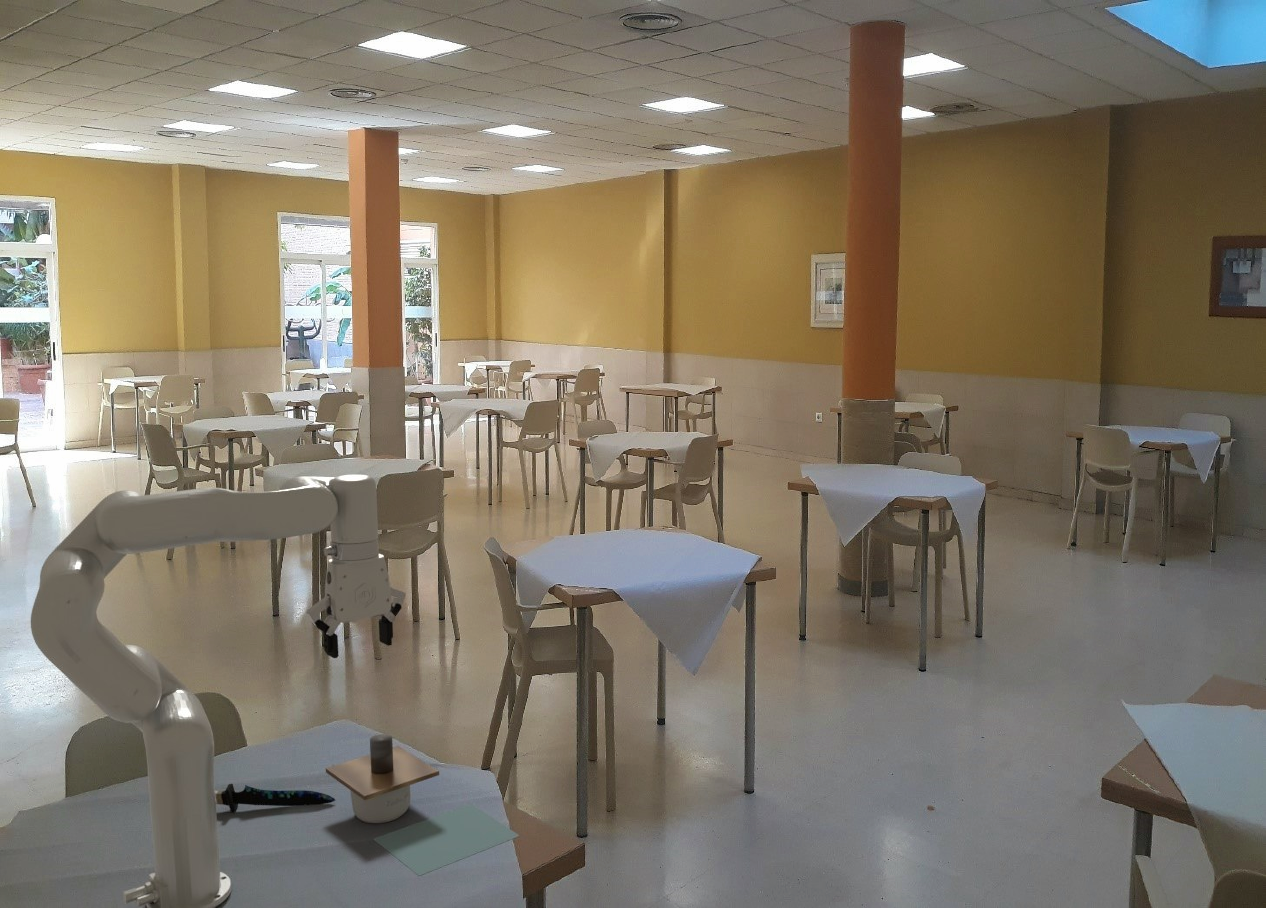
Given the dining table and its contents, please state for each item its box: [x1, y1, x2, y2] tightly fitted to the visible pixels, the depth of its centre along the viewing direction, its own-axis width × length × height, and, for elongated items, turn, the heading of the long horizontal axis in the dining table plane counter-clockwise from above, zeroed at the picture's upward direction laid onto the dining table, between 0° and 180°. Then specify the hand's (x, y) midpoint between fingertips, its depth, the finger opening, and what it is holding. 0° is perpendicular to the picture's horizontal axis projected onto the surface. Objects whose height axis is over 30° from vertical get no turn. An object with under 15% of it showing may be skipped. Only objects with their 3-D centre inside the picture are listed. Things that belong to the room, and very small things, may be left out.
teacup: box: [349, 785, 411, 824], centre depth 198 cm, size 14×11×8 cm
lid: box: [325, 733, 440, 800], centre depth 197 cm, size 15×15×7 cm
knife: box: [215, 783, 336, 814], centre depth 200 cm, size 31×3×4 cm, turn 94°
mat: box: [372, 803, 521, 877], centre depth 188 cm, size 20×16×1 cm
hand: (359, 649), depth 179 cm, fingers open, 9 cm apart
